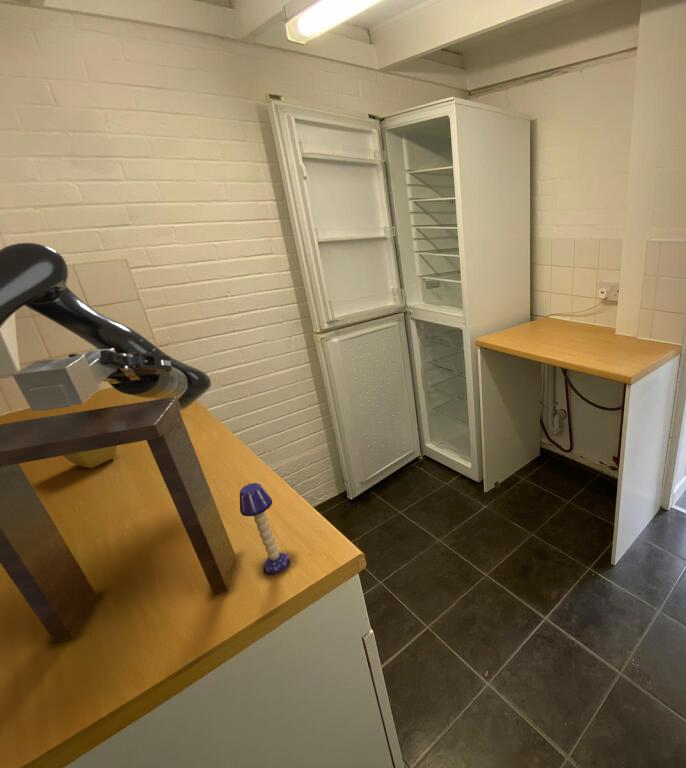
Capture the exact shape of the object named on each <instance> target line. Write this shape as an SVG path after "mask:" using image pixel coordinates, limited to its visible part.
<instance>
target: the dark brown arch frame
mask: <svg viewBox="0 0 686 768" xmlns="http://www.w3.org/2000/svg"><path fill="white" fill-rule="evenodd" d="M180 409H181V406H180V403H179V401H178V398H177V397H171V398H164V399H158V400H155V399H151V400H146V401H145V400H144V401H139V402H133V403H127V404H121V405H114V406H108V407H101V408H95V409H88V410H82V411H76V412H70V413H63V414H55V415H51V416H43V417H38V418H37V417H36V418H31V419H24V420H19V421H13V422H5V423H1V424H0V565H1V566H2V568H3V569H4V571H5V572H6V574H7V575H8V576H9V578H10V579H11V581H12V582H13V584H14V586H16V589H18V591H19V592H20V594H21V595H22V597H23V598H24V600H25V601H26V603H27V604H28V605H29V607H30V608H31V610H32V611H33V612H34V614H35V616H36V617H37V619H38V620H39V621H40V623H41V624H42V625H43V627H44V629H45V630H46V631H47V632H48V635H49V636H50V638H51V639H52V641H54V643H55V644H59V643H62V642H64V641H68V640H71V639H74V637H75V636H76V634H77V632H78V630H79V629H80V627H81V625H82V624H83V622H84V620H85V618H86V616H87V615H88V613H89V612H90V610H91V608H92V606H93V604H94V602H95V601H96V600H97V597H98V595H97V593H96V591H95V589H94V588H93V587H92V585H91V583H90V582H89V579H88V577H86V574H85V572H84V571H83V570H82V568H81V567H80V564H79V563H78V561H77V559H76V558H75V556H74V554H73V553H72V551H71V549H70V547H69V545H68V544H67V543H66V541H65V539H64V537H63V536H62V534H61V533H60V530H59V529H58V528H57V526H56V524H55V522H54V520H53V519H52V517H51V516H50V514H49V512H48V510H47V509H46V507H45V505H44V504H43V502H42V500H41V499H40V496H39V495H38V493H37V492H36V490H35V489H34V487H33V485H32V483H31V482H30V479H29V478H28V476H27V474H26V473H25V472H24V470H23V468H22V466H21V464H24V463H30V462H35V461H41V460H46V459H52V458H56V457H64V456H63V455H68V454H74V453H79V452H85V451H90V450H95V449H101V448H106V447H112V446H117V447H118V446H122V445H123V446H124V445H128V444H133V443H138V442H139V443H140V442H143V441H146V443H147V445H148V447H149V449H150V452H151V454H152V456H153V458H154V461H155V463H156V465H157V468H158V470H159V472H160V474H161V477H162V479H163V481H164V484H165V485H166V488H167V490H168V493H169V495H170V497H171V500H172V502H173V504H174V508H175V510H176V511H177V513H178V516H179V518H180V522H181V523H182V525H183V527H184V530H185V532H186V534H187V537H188V539H189V541H190V544H191V546H192V548H193V550H194V553H195V555H196V557H197V559H198V561H199V564H200V566H201V569H202V571H203V573H204V576H205V578H206V580H207V583H208V584H209V587H210V589H211V592H212V594H213V596H217V595H219V594H224V593H227V592H228V591H229V588H230V584H231V581H232V576H233V572H234V567H235V564H236V559H237V556H236V553H235V551H234V548H233V545H232V543H231V541H230V538H229V534H228V533H227V530H226V527H225V524H224V522H223V519H222V517H221V514H220V512H219V509H218V507H217V504H216V501H215V499H214V496H213V494H212V491H211V489H210V486H209V484H208V480H207V479H206V476H205V473H204V471H203V468H202V465H201V463H200V460H199V458H198V455H197V452H196V450H195V447H194V445H193V443H192V440H191V437H190V434H189V432H188V429H187V426H186V424H185V422H184V418H183V416H182V413H181V411H179V410H180Z"/></svg>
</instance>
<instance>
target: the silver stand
mask: <svg viewBox="0 0 686 768" xmlns="http://www.w3.org/2000/svg"><path fill="white" fill-rule="evenodd" d="M102 350H109V351H112V352H115V350H114V348H110V349H102ZM100 352H101V350H99V349H94V350H89V351H88V352H85V353H83V354H82V356H76V357H69V356H68V357H61V358H52V359H45V360H36V361H34V362H32V363H30V364H28V365H26V366H25V367H23V368H21V369H20V370H18V371H16V372H14V373H12V377H13V379H14V381H15V383H16V385H17V386H18V388H19V390H20V393H21V394H22V396H23V397H24V400H25V401H26V403H27V404H28V406H29V409H30V410H31V411H32V412H36V411H39V412H44V411H52V410H59V409H64V408H71V407H73V406H76V405H83V404H84V403H85V402H87V401H88V400H89V399H90V398H91V397H93V396H94V395H95V394H96V393H98V392H99V391H100V390H101V388H100V386H99V385H100V384H101V383H102V382H104V381H103V380H104V379H106V378H107V377H108V376H109V375H111V374H112V373H113V372H114V371H116V370H117V369H116V368H113V367H109V366H106V365H104V364H103V363H102V359H101V353H100ZM115 353H116V352H115Z"/></svg>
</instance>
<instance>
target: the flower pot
mask: <svg viewBox="0 0 686 768" xmlns="http://www.w3.org/2000/svg"><path fill="white" fill-rule="evenodd" d="M117 449H118V445H117V446H112V447H106V448H101V449H95V450H90V451H85V452H79V453H74V454H68V455H63V456H62V457H64V458H65V459H66V460H68V461H69V462H71V463H72V464H74V465H77V466H79V467H83V468H87V469H94V468H96V467H97V466H100V465H102V464H104V463H106V462H108V461H111V460H112V459H114V457H115V456H116V453H117Z"/></svg>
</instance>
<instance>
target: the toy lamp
mask: <svg viewBox="0 0 686 768" xmlns="http://www.w3.org/2000/svg"><path fill="white" fill-rule="evenodd" d="M272 505H273V499H272V497H271V495H269V493H268V492H267V491H266V489H265V488H264V487H263V486H262V485H261V484H260V483H258V482H252V483H248V484H246V485H244V486H243V487H242V488H241V489H240V491H239V513H240V514H241V515H242V516H244V517H253V518H254V522H255V524H256V528H257V531H258V532H259V537H260V538H261V540H262V544H263V546H265V552H266V553H267V556H268V557H267V558H266V559H265V561H264V563H263V572H264V574H266V575H268V576H274V575H277V574H280V573H282V572H284V571H285V570H286V569H287V568H288V567H289V566H290V563H291V558H290V557H289V554H287V553H284V552H280V551H279V549H278V545H277V543H276V542H275V536H273V533H272V530H271V528H270V523H269V522H268V521H267V520H268V517H267V515H266V514H265V512H266V511H267V510H269V509H270V508H271V506H272Z"/></svg>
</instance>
